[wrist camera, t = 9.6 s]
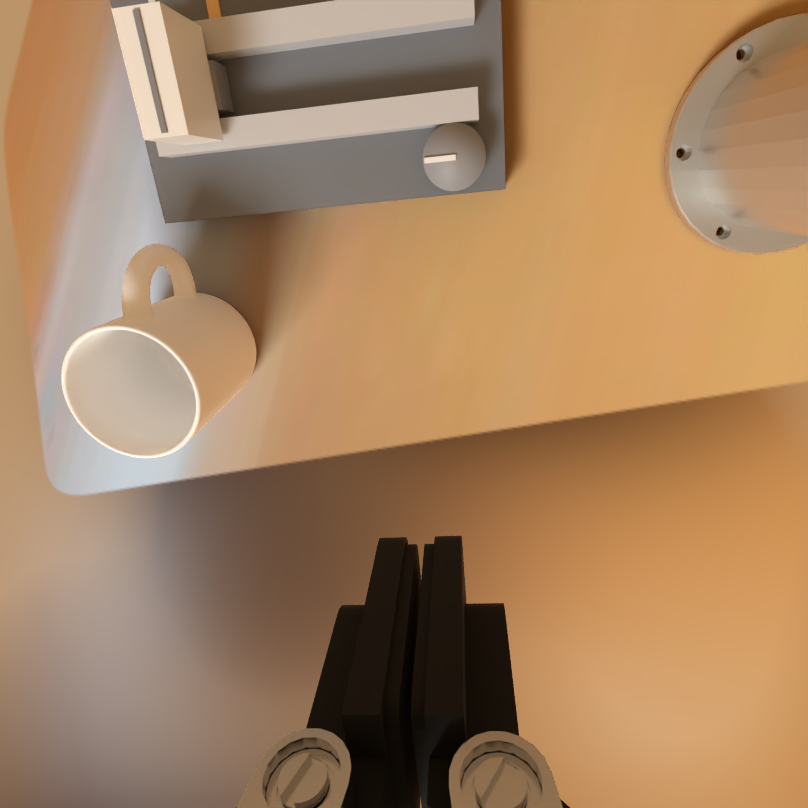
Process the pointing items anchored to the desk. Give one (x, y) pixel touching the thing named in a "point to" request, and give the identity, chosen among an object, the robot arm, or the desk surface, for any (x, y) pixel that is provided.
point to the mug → (157, 362)
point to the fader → (172, 75)
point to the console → (341, 105)
